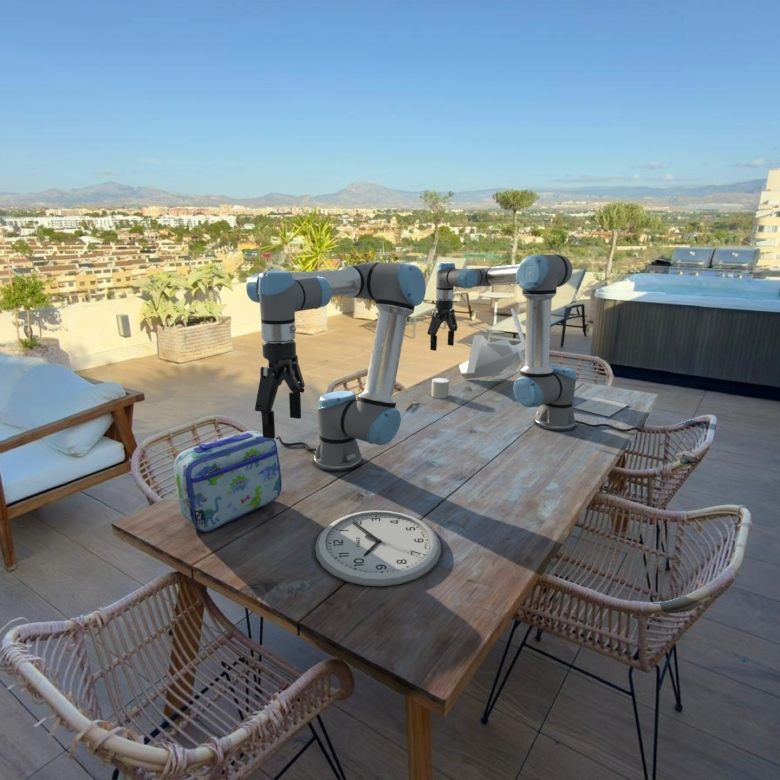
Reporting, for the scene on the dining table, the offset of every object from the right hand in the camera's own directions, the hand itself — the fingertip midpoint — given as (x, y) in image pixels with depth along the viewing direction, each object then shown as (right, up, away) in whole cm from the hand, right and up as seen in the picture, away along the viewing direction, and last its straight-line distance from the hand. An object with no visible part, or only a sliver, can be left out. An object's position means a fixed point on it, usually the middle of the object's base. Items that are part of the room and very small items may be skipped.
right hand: (442, 347), depth 231 cm
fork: (-14, -26, -8) cm, 30 cm away
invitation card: (+68, -26, -5) cm, 73 cm away
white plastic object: (+30, -17, +23) cm, 41 cm away
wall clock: (-26, -56, -106) cm, 122 cm away
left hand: (-49, -28, -105) cm, 119 cm away
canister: (0, -21, +7) cm, 22 cm away
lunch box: (-65, -51, -93) cm, 124 cm away
